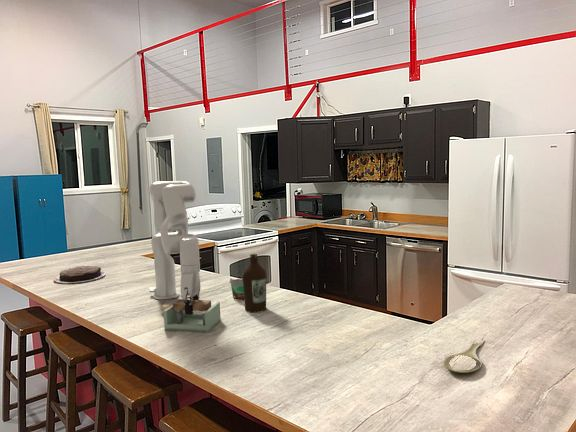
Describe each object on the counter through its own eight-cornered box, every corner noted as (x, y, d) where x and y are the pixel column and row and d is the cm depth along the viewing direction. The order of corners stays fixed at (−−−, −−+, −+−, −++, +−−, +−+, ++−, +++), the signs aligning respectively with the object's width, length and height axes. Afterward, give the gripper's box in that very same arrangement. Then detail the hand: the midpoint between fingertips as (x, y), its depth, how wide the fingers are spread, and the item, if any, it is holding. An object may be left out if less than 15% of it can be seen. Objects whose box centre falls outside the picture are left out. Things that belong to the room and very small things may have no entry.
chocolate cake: (42, 283, 268) (41, 272, 267) (77, 271, 294) (76, 261, 293) (83, 286, 260) (83, 274, 259) (115, 273, 287) (114, 263, 286)
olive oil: (239, 308, 212) (237, 254, 209) (260, 304, 217) (258, 251, 214) (251, 314, 203) (248, 257, 200) (272, 310, 209) (270, 254, 206)
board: (173, 309, 189) (172, 303, 189) (179, 305, 195) (179, 299, 195) (206, 311, 186) (205, 304, 186) (211, 306, 192) (211, 300, 192)
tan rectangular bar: (162, 315, 206) (161, 306, 205) (164, 313, 208) (164, 304, 208) (183, 315, 204) (182, 306, 203) (185, 313, 206) (185, 305, 206)
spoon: (466, 341, 173) (466, 335, 173) (497, 347, 167) (497, 341, 167) (437, 372, 144) (437, 365, 144) (473, 380, 138) (474, 373, 138)
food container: (231, 302, 222) (231, 281, 221) (230, 298, 228) (229, 278, 227) (257, 299, 225) (256, 278, 224) (255, 295, 231) (254, 275, 230)
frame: (164, 330, 187) (163, 311, 186) (179, 318, 200) (178, 300, 199) (208, 332, 183) (207, 312, 182) (220, 320, 197) (219, 301, 196)
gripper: (190, 263, 198) (192, 304, 200) (172, 273, 181) (174, 318, 183) (206, 263, 196) (208, 305, 199) (190, 273, 180) (192, 319, 182)
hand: (192, 310), depth 191 cm, fingers closed on board, 6 cm apart
